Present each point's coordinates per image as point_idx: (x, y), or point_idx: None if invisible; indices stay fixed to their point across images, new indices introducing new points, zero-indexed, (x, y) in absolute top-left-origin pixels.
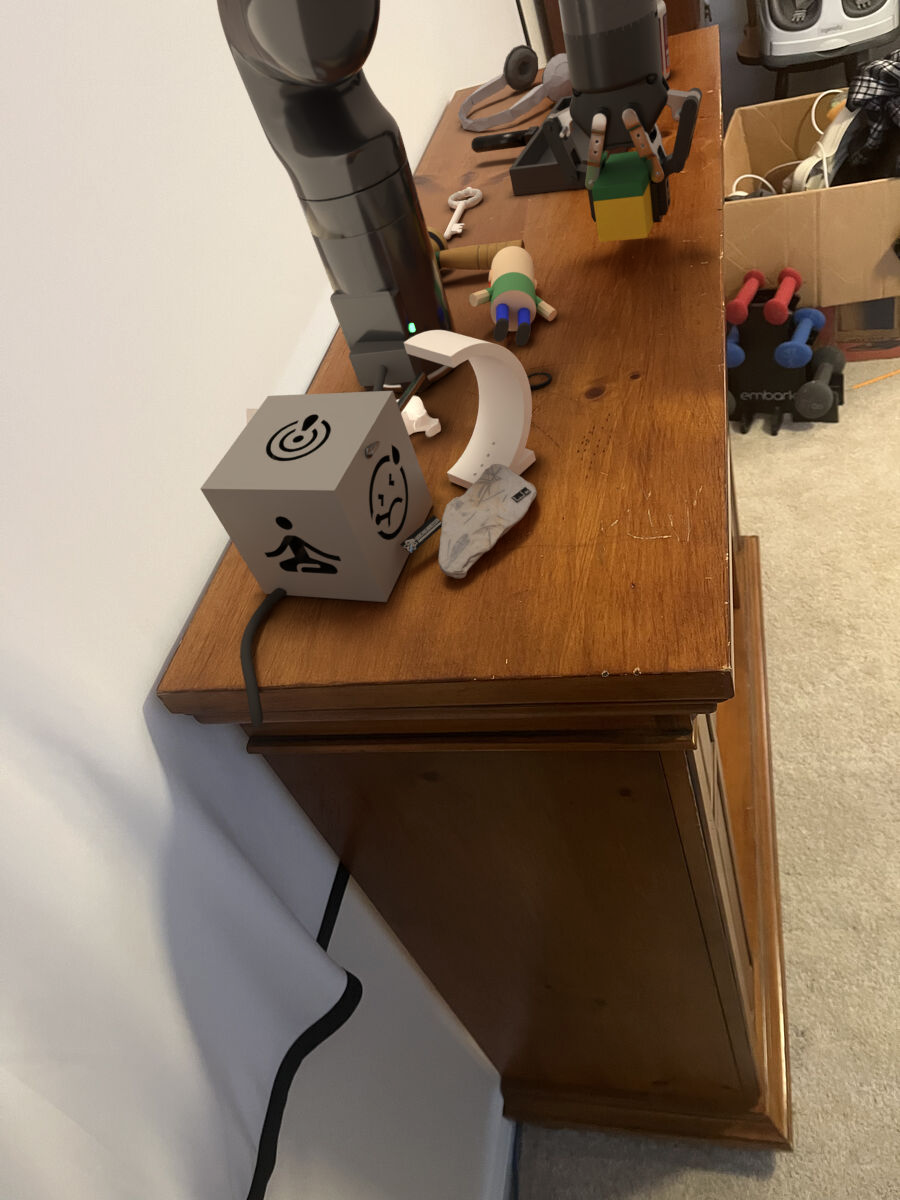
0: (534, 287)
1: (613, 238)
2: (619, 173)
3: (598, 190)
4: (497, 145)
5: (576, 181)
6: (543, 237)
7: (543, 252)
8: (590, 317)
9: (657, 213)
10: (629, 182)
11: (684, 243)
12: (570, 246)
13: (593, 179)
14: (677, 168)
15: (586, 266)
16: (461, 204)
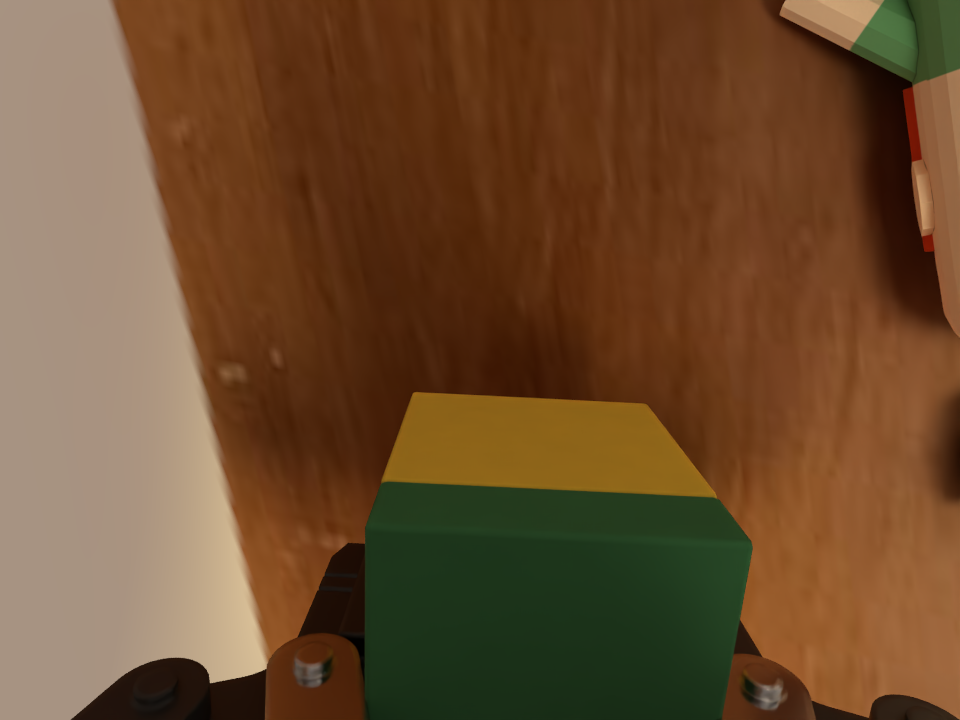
0: (939, 69)
1: (576, 404)
2: (567, 707)
3: (696, 529)
4: None
5: (879, 709)
6: (895, 683)
7: (885, 574)
8: (619, 4)
9: None
10: (463, 549)
11: (337, 527)
12: (777, 596)
13: (754, 706)
14: (159, 673)
15: (693, 434)
16: None
